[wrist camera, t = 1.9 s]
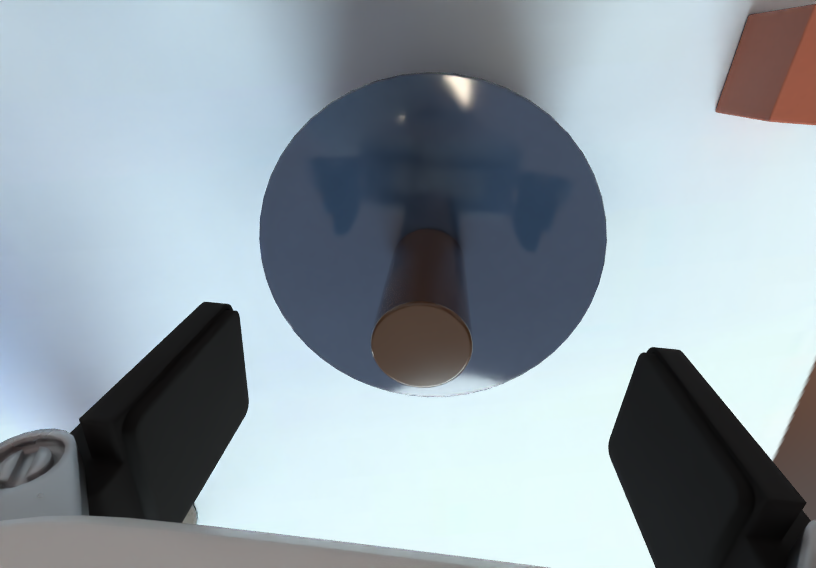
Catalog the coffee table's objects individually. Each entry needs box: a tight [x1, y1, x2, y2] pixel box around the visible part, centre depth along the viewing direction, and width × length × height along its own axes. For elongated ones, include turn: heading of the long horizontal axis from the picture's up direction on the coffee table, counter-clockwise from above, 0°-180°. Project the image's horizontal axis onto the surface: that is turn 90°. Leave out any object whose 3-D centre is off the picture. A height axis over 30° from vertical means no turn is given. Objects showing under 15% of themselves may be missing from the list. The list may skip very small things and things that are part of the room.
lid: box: [259, 72, 607, 397], centre depth 14 cm, size 12×12×7 cm
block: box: [716, 4, 816, 125], centre depth 20 cm, size 4×4×4 cm
